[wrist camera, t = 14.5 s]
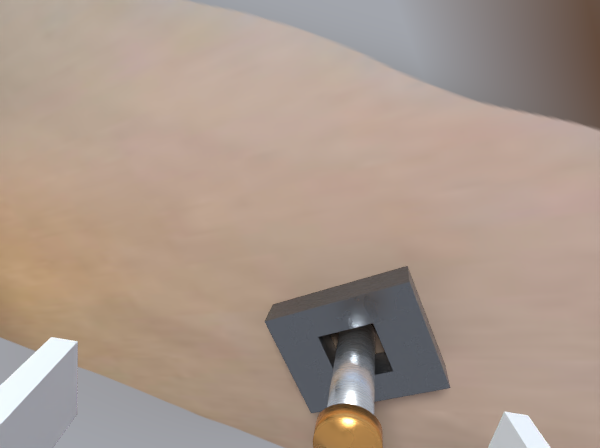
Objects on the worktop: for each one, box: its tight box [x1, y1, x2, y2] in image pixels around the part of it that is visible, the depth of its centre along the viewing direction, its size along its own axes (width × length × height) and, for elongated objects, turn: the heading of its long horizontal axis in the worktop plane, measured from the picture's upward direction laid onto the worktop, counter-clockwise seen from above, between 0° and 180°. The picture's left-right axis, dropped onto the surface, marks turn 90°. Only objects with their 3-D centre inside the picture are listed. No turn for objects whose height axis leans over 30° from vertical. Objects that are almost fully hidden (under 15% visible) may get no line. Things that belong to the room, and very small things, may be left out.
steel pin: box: [313, 324, 383, 448], centre depth 33 cm, size 5×5×13 cm
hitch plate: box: [265, 266, 450, 413], centre depth 37 cm, size 11×14×3 cm
